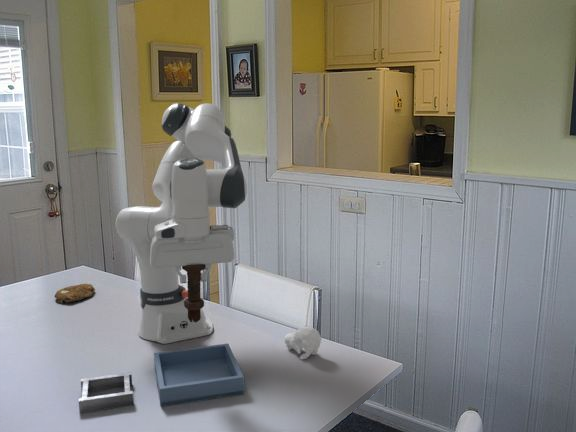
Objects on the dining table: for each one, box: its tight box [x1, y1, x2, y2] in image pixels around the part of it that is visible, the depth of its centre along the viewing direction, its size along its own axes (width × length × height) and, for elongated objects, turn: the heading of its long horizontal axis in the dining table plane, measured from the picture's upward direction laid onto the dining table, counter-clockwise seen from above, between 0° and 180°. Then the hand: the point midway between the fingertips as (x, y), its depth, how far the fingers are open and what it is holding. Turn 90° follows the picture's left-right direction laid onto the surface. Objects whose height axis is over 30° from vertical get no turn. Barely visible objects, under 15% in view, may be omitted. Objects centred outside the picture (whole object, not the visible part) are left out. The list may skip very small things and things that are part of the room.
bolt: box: [181, 264, 206, 322], centre depth 141 cm, size 6×5×15 cm
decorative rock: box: [53, 283, 96, 304], centre depth 207 cm, size 11×4×15 cm
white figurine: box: [284, 326, 322, 360], centre depth 161 cm, size 6×8×12 cm
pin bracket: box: [78, 372, 135, 414], centre depth 138 cm, size 12×11×3 cm
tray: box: [153, 343, 245, 408], centre depth 146 cm, size 20×20×4 cm
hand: (193, 281), depth 141 cm, fingers closed on bolt, 4 cm apart
